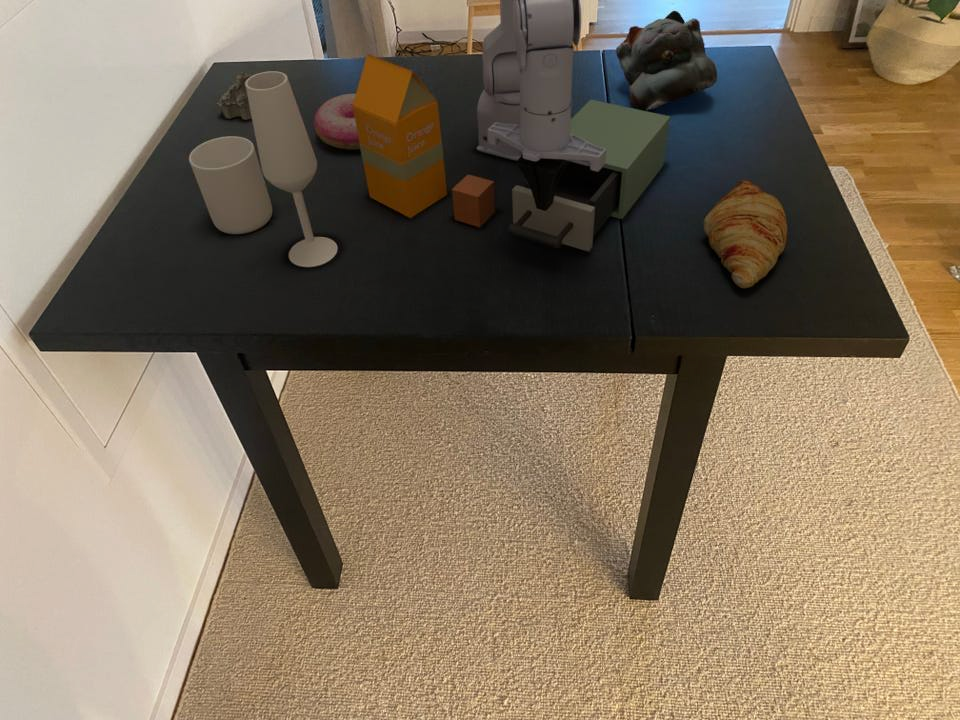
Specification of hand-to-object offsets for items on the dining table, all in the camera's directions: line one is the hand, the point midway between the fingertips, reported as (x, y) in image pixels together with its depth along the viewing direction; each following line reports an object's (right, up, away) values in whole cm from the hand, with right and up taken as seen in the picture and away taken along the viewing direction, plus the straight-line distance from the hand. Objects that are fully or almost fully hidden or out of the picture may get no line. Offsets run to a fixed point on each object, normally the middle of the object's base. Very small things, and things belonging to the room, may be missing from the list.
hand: (544, 205), depth 91 cm
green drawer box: (+10, +7, +16) cm, 20 cm away
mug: (-42, +2, +16) cm, 45 cm away
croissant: (+26, -4, +4) cm, 27 cm away
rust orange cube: (-9, +1, +12) cm, 15 cm away
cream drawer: (+4, 0, +8) cm, 9 cm away
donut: (-28, +18, +30) cm, 45 cm away
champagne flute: (-31, -5, +8) cm, 32 cm away
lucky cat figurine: (+23, +25, +33) cm, 47 cm away
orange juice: (-19, +5, +16) cm, 25 cm away
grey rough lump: (-49, +26, +39) cm, 68 cm away
